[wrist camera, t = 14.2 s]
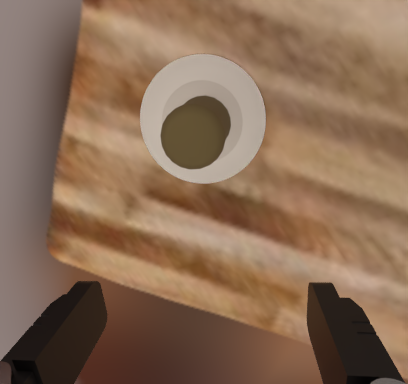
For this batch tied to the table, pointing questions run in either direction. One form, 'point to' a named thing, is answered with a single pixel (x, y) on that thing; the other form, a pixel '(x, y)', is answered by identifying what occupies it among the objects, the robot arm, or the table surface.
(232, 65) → the cream plate
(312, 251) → the table surface
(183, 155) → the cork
